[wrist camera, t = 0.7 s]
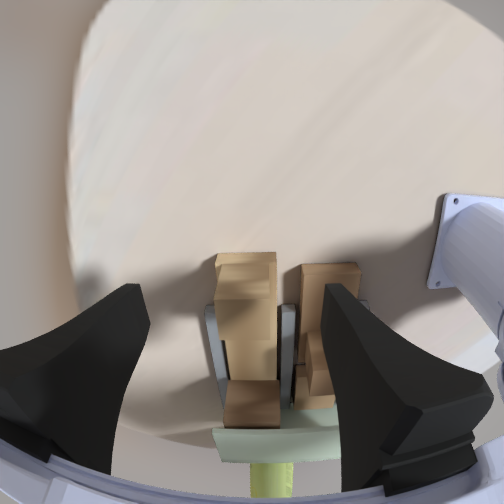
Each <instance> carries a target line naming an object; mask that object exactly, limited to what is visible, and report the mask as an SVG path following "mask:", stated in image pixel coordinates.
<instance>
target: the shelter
mask: <svg viewBox="0 0 504 504" xmlns="http://www.w3.org/2000/svg"><path fill="white" fill-rule="evenodd" d="M212 435H213V438H214V441H215V444H216V447H217V450H218V452H219V455H220V458H221V461H222V462H230V463H231V462H232V463H293V462H308V461H319V460H329V459H338V458H341V447H340V434H339V422H338V413H337V406H335V403H334V405H333V408H323V409H310V410H294V406H293V403H290V407H289V409H280V429H225V428H224V429H221V428H212Z"/></svg>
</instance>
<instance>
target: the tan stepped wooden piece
mask: <svg viewBox="0 0 504 504" xmlns="http://www.w3.org/2000/svg"><path fill="white" fill-rule="evenodd" d="M215 269H216V277H217V287H216V291H215V295H214V299H213V301H214V308H215V315H216V321H217V328H218V334H219V340H225V344H226V351H227V358H228V364H229V371H230V377H231V380H276V374H277V260H276V252H262V253H222V254H218V255H217V259H216V262H215Z"/></svg>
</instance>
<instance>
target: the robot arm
mask: <svg viewBox="0 0 504 504" xmlns="http://www.w3.org/2000/svg"><path fill="white" fill-rule="evenodd" d="M455 198H456V202H455V203H454V199H455ZM438 281H439V282H438ZM437 282H438V283H437ZM436 283H437V284H436ZM427 286H428V288H429V289H440V288H450V287H457V288H458V289H459V290H460V291H461V293H462V294H463V295H464V296H465V297H466V299H467V300H468V301H469V302H470V303H471V305H472V306H473V307H474V308H475V310H476V311H477V312H478V313H479V315H480V316H481V317H482V318H483V320H484V321H485V322H486V324H487V325H488V326H489V328H490V329H491V330H492V332H493V333H494V334H495V336H496V337H497V338H498V340H499V343H498V345H497V347H496V349H495V352H496V354H497V355H498V357H499V358H500V360H501V361H502V363H501V365H500V367H499V369H498V373H497V383H498V389H499V392H500V394H501V397H502V400H503V402H504V198H498V197H488V196H479V195H468V194H456V193H448V194H446V195H445V197H444V201H443V208H442V214H441V220H440V226H439V231H438V237H437V242H436V246H435V251H434V256H433V260H432V264H431V268H430V272H429V276H428V280H427ZM149 328H150V320H149V317H148V313H147V310H146V306H145V302H144V299H143V295H142V291H141V287H140V284H125V285H123V286H121V287H119V288H118V289H116V290H115V291H113V292H112V293H110V294H109V295H107V296H106V297H104V298H103V299H102V300H100V301H99V302H97V303H96V304H94V305H93V306H91V307H90V308H89V309H87V310H85V311H84V312H82V313H81V314H79V315H78V316H76V317H75V318H73V319H72V320H70V321H68V322H67V323H65V324H63V325H61V326H60V327H58V328H56V329H54V330H52V331H50V332H48V333H46V334H44V335H41V336H39V337H37V338H35V339H32V340H30V341H28V342H25V343H22V344H19V345H16V346H13V347H10V348H7V349H3V350H0V490H1V491H2V492H4V493H5V494H7V495H8V496H9V497H11V498H12V499H13V500H15V501H16V502H18V503H19V504H504V435H502V436H499V437H497V438H496V439H493V440H491V441H489V442H487V443H485V444H483V445H481V446H479V447H478V448H476V449H475V450H473V447H472V444H471V443H473V442H474V440H475V436H474V434H473V432H472V430H473V429H474V428H475V427H476V426H477V425H478V423H479V422H480V421H481V420H482V419H483V417H484V416H485V415H486V414H487V412H488V411H489V409H490V408H491V405H492V403H493V400H494V397H493V396H494V395H493V393H492V392H491V390H490V388H489V386H488V384H487V382H486V381H485V379H484V377H483V375H482V374H479V373H476V372H473V371H470V370H467V369H464V368H461V367H458V366H456V365H453V364H451V363H449V362H446V361H444V360H442V359H440V358H438V357H436V356H433V355H431V354H430V353H428V352H426V351H424V350H422V349H421V348H419V347H417V346H415V345H414V344H412V343H411V342H409V341H407V340H406V339H405V338H403V337H402V336H400V335H399V334H397V333H396V332H394V331H393V330H392V329H390V328H389V327H388V326H387V325H386V324H384V323H383V322H382V321H381V320H379V319H378V318H377V317H376V316H375V315H374V314H373V313H371V312H370V311H369V310H368V309H367V308H366V307H365V306H364V305H363V304H362V303H361V302H360V301H359V300H358V299H357V298H356V297H355V296H354V295H353V294H352V293H351V292H350V291H349V290H348V289H347V288H345V287H344V286H343V285H342V284H341V283H327V284H325V289H324V298H323V307H322V315H321V322H320V329H321V337H322V345H323V350H324V354H325V358H326V362H327V366H328V370H329V374H330V378H331V382H332V386H333V390H334V394H335V399H336V405H337V413H338V422H339V434H340V447H341V477H342V490H341V493H335V494H327V495H317V496H305V497H286V498H244V497H226V496H213V495H204V494H196V493H188V492H181V491H175V490H170V489H164V488H158V487H154V486H149V485H145V484H140V483H136V482H132V481H128V480H124V479H121V478H117V477H114V476H111V463H112V451H113V445H114V438H115V431H116V427H117V422H118V417H119V412H120V408H121V405H122V401H123V397H124V394H125V391H126V388H127V385H128V383H129V381H130V378H131V376H132V373H133V371H134V369H135V366H136V364H137V362H138V360H139V357H140V355H141V352H142V350H143V348H144V345H145V342H146V339H147V335H148V332H149Z"/></svg>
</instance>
